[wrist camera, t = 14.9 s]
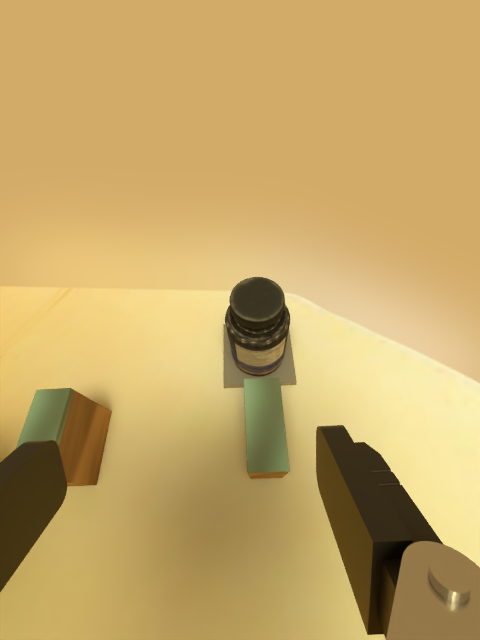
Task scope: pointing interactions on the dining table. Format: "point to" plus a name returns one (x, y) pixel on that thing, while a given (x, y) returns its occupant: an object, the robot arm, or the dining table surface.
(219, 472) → the dining table surface
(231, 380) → the slate pad
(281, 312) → the pill bottle
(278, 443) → the walnut channel
